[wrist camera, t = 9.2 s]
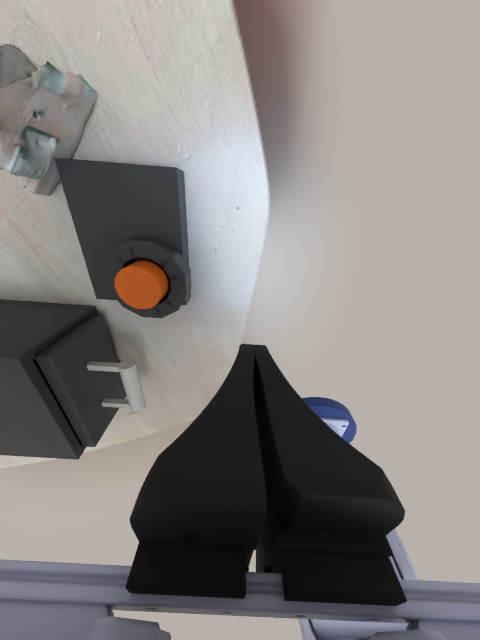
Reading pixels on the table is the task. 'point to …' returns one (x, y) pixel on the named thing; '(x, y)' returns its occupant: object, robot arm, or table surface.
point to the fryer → (34, 380)
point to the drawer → (89, 379)
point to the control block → (130, 225)
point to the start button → (141, 284)
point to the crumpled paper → (39, 118)
